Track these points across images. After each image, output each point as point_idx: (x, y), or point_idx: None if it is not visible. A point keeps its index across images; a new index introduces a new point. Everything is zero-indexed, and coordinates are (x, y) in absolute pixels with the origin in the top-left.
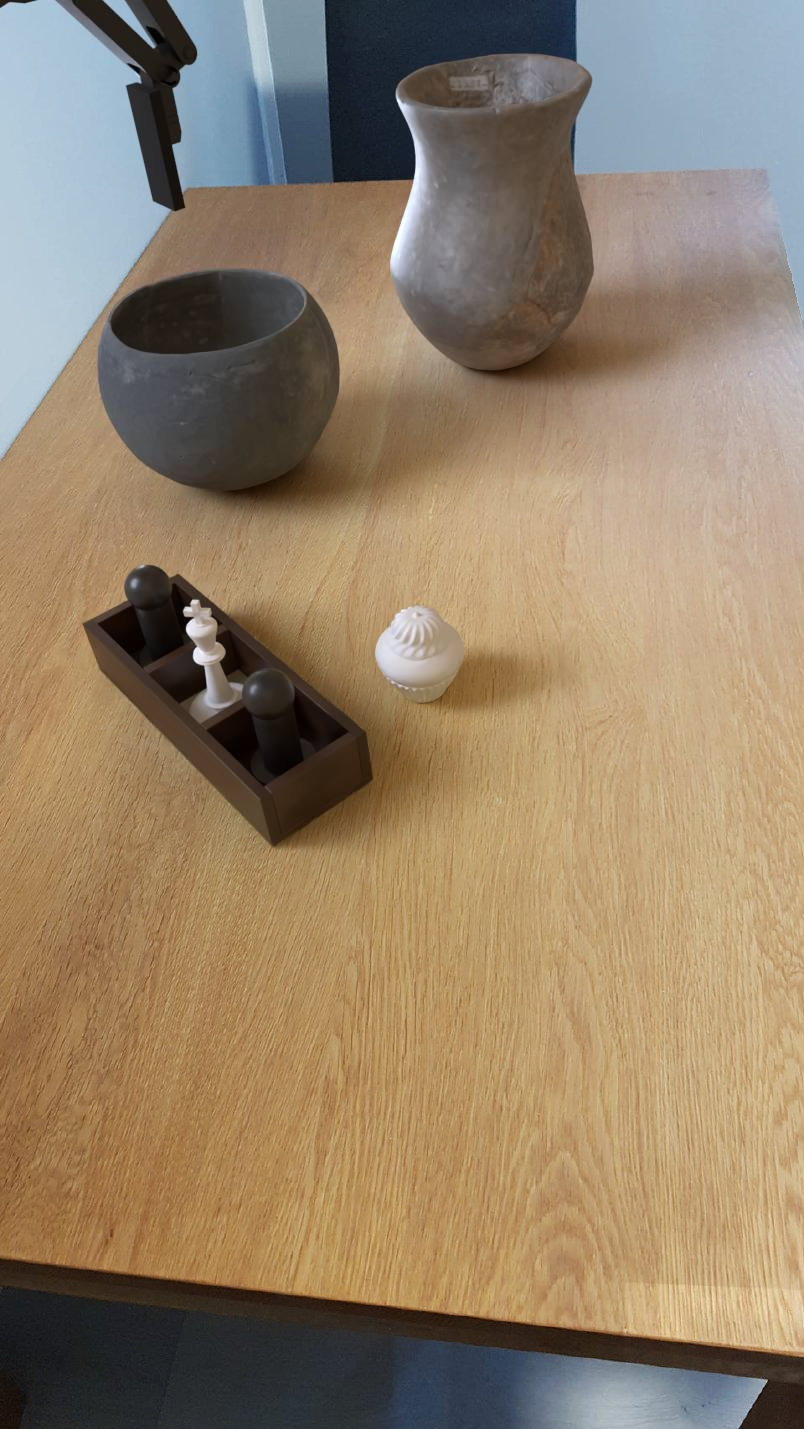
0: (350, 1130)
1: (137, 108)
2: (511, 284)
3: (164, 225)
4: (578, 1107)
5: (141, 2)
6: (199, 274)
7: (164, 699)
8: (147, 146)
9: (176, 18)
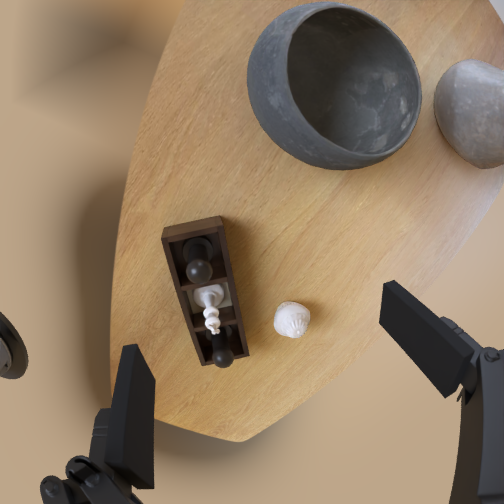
0: (188, 410)
1: (443, 357)
2: (478, 159)
3: None
4: (235, 418)
5: None
6: (378, 23)
7: (184, 310)
8: (418, 333)
9: None
